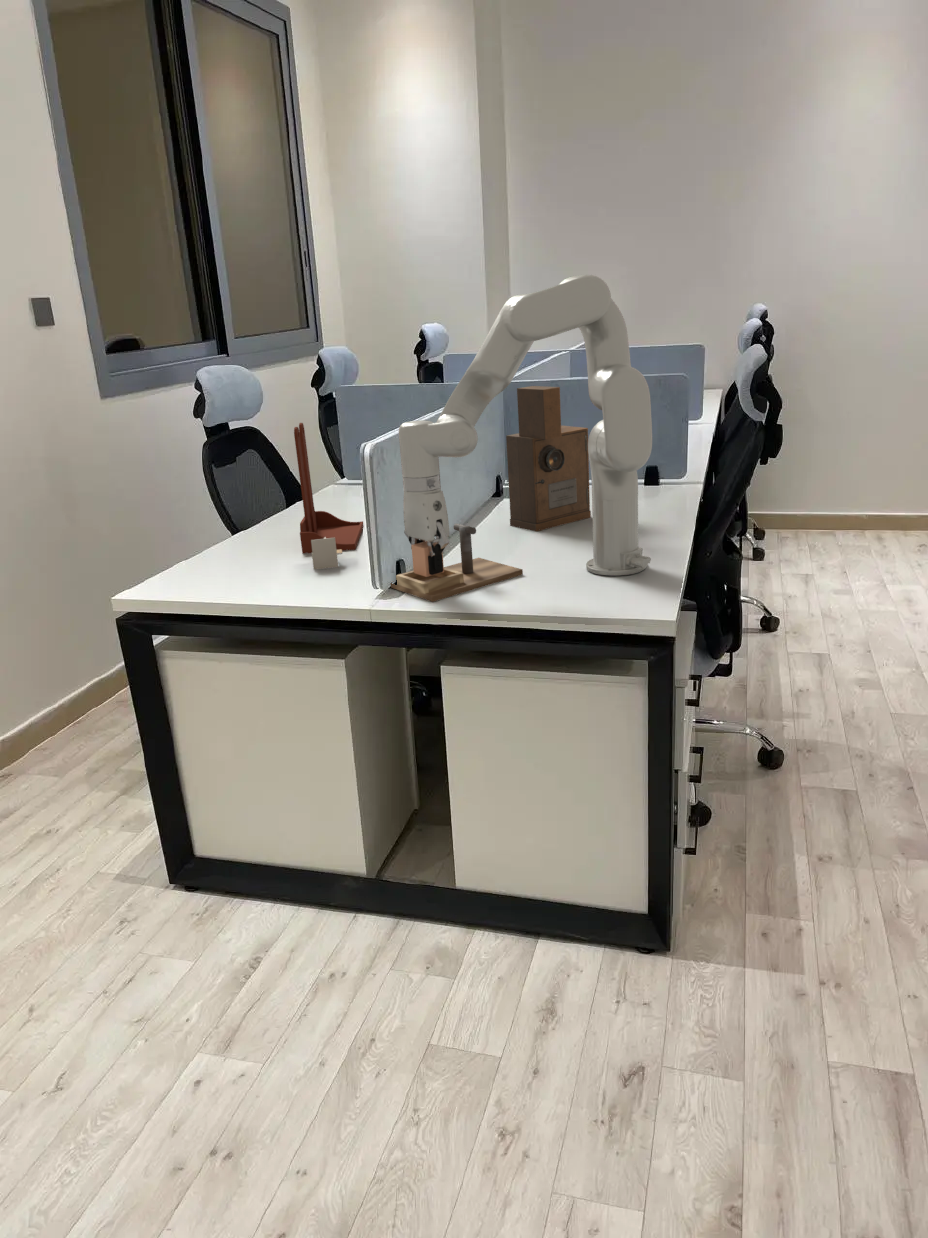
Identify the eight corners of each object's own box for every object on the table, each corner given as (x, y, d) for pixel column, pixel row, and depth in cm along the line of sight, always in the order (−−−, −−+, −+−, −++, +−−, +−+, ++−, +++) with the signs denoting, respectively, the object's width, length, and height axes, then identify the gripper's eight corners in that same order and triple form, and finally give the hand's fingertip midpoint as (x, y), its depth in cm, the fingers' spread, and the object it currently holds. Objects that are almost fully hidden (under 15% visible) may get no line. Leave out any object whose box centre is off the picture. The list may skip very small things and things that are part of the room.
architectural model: (313, 567, 218) (309, 536, 216) (343, 564, 219) (339, 533, 217) (314, 571, 215) (310, 540, 213) (344, 568, 216) (340, 537, 213)
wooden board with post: (522, 574, 199) (520, 522, 195) (432, 602, 186) (427, 546, 182) (479, 562, 211) (475, 512, 207) (390, 587, 197) (385, 534, 193)
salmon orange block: (444, 572, 193) (441, 543, 191) (426, 576, 190) (424, 548, 188) (431, 568, 196) (429, 540, 194) (413, 572, 193) (411, 545, 191)
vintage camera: (546, 534, 231) (540, 389, 220) (510, 525, 242) (502, 387, 230) (601, 519, 242) (598, 381, 230) (564, 512, 252) (559, 379, 241)
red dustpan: (355, 550, 230) (341, 427, 220) (302, 554, 230) (286, 431, 220) (363, 527, 252) (351, 415, 243) (315, 530, 253) (301, 418, 243)
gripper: (462, 485, 183) (468, 574, 189) (413, 476, 195) (420, 560, 201) (431, 491, 178) (438, 582, 184) (383, 482, 191) (391, 567, 197)
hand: (428, 570), depth 193 cm, fingers closed on salmon orange block, 4 cm apart
